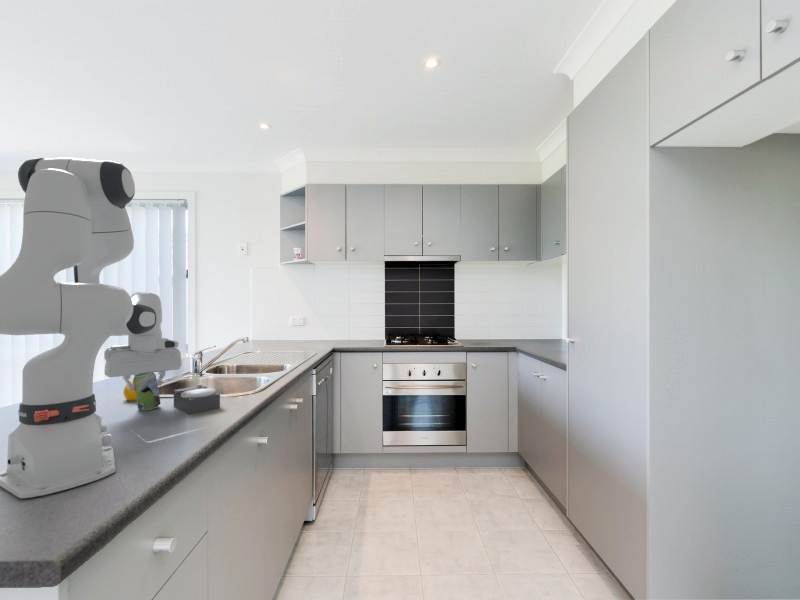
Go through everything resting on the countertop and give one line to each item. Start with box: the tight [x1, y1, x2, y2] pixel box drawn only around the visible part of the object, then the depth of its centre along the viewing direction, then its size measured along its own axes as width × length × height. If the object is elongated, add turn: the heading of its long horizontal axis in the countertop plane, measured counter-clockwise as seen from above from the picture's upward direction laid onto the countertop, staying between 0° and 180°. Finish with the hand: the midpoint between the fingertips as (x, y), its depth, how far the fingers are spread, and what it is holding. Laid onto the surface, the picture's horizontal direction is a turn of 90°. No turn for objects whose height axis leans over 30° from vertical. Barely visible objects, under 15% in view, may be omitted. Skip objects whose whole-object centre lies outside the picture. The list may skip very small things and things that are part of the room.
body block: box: [173, 383, 221, 415], centre depth 120 cm, size 13×10×6 cm
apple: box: [123, 379, 137, 402], centre depth 130 cm, size 8×8×8 cm
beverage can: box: [132, 372, 161, 412], centre depth 118 cm, size 6×7×12 cm
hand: (144, 387), depth 118 cm, fingers open, 6 cm apart
